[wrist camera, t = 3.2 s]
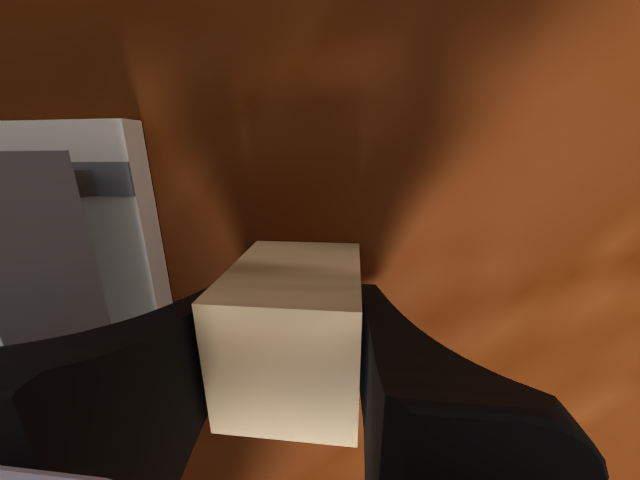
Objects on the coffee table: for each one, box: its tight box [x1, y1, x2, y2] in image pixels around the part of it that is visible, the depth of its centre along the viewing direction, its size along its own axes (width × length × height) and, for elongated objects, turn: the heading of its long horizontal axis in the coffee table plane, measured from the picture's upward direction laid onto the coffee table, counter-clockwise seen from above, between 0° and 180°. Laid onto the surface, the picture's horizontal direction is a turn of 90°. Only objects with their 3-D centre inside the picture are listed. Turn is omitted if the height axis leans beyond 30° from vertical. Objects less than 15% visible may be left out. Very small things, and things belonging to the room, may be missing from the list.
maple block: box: [192, 241, 362, 447], centre depth 10 cm, size 4×4×5 cm
